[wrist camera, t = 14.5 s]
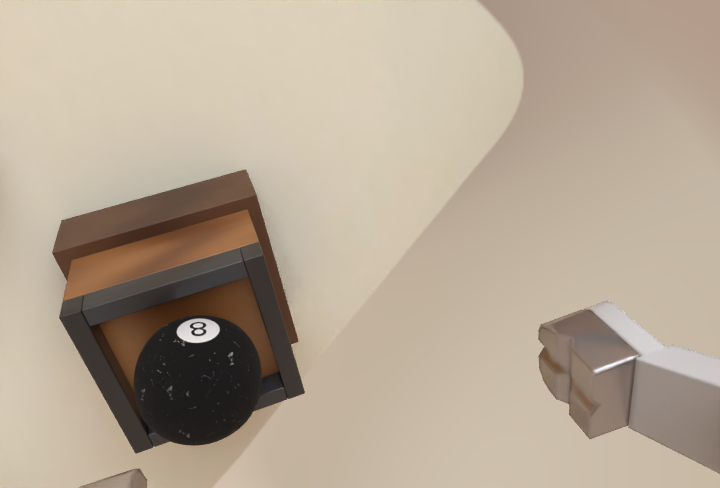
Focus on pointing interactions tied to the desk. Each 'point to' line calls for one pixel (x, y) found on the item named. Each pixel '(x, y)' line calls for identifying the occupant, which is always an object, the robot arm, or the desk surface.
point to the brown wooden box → (173, 286)
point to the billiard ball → (197, 380)
